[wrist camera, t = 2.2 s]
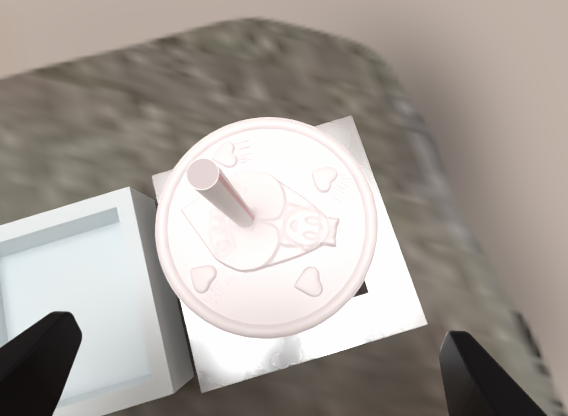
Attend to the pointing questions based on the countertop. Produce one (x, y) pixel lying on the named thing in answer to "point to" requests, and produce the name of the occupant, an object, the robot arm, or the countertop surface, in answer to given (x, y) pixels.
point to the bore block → (332, 333)
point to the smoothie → (266, 228)
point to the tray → (98, 299)
